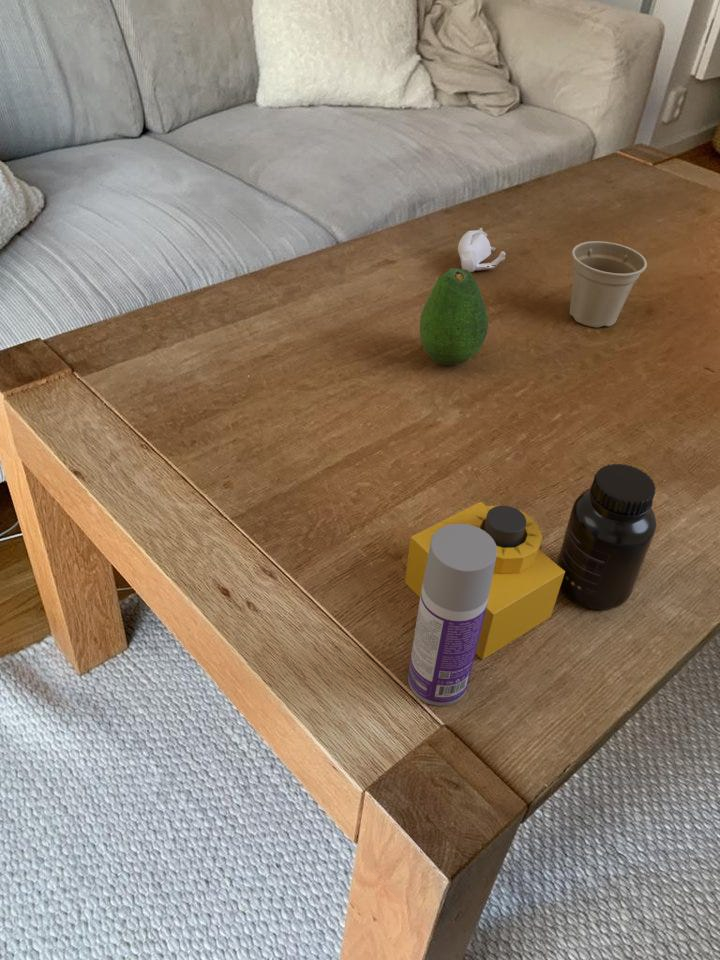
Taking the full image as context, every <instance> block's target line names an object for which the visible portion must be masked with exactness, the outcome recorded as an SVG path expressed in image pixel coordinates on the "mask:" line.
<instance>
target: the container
mask: <svg viewBox="0 0 720 960" xmlns="http://www.w3.org/2000/svg"><path fill="white" fill-rule="evenodd" d="M496 556H497V546H496V543H495V542H494V540H493V538H492V537H491V536H490V535H489V534H488V533H487V532H485V531H484V530H482V529H480V528H478V527H475V526H472V525H468V524H450V525H446V526H444V527H442V528H440V529H439V530H437V531H436V532H435V533H434V535H433V537H432V539H431V543H430V549H429V554H428V559H427V564H426V569H425V574H424V579H423V584H422V589H421V596H420V597H419V601H418V609H417V616H416V623H415V629H414V635H413V642H412V649H411V654H410V662H409V669H408V675H407V682H408V686H409V688H410V691H412V693H413V695H415V696H416V698H418V699H419V700H420V701H422V702H423V703H425V704H427V705H431V706H434V707H435V706H436V707H447V706H451V705H454V704H455V703H457V702H459V701H460V700H461V699H462V698H463V697H464V696H465V694H466V692H467V689H468V686H469V681H470V677H471V674H472V671H473V670H472V669H473V665H474V662H475V658H476V657H475V656H476V649H477V645H478V640H479V636H480V632H481V628H482V624H483V620H484V615H485V611H486V607H487V603H488V597H489V592H490V587H491V582H492V576H493V571H494V566H495V561H496Z"/></svg>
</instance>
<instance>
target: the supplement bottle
mask: <svg viewBox="0 0 720 960" xmlns="http://www.w3.org/2000/svg"><path fill="white" fill-rule="evenodd" d="M656 488H657V487H656V484H655V482H654V480H653V478H651V476H650V475H648V473H646V472H644V471H643V470H642V469H640V468H638V467H634V466H633V465H628V464H623V463H612V464H607V465H604V466H602V467H600V468H599V469H598V470H597V471H596V473H595V475H594V476H593V480H592V483H591V484H590V487H589V488H588V489H586V490H585V491H583V492H582V493H580V494H579V495H578V496H577V497H576V499H575V501H574V503H573V505H572V508H571V511H570V515H569V518H568V522H567V525H566V529H565V532H564V536H563V540H562V543H561V547H560V550H559V554H558V557H557V562H556V564H557V565H558V566H559V567H560V568H562V569H563V570H564V571H565V574H564V577H563V580H562V583H561V586H560V589H559V590H560V591H561V592H562V594H564V595H565V596H566V597H567V598H568V599H569V600H571V601H572V603H575V604H577V605H579V606H581V607H584V608H586V609H591V610H599V611H603V610H604V611H605V610H611V609H614V608H617V607H619V606H621V605H623V604H625V602H626V601H628V599H629V598H630V596H631V595H632V593H633V590H634V588H635V585H636V583H637V580H638V578H639V575H640V572H641V570H642V567H643V564H644V562H645V559H646V556H647V554H648V551H649V549H650V546H651V544H652V540H653V538H654V536H655V533H656V529H657V518H656V514H655V512H654V509H653V508H652V506H653V502H654V497H655V496H656Z"/></svg>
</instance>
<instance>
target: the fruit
mask: <svg viewBox="0 0 720 960" xmlns="http://www.w3.org/2000/svg"><path fill="white" fill-rule="evenodd" d="M420 314H421V315H420V321H419V322H420V323H419V332H420V333H419V334H420V340H421V344H422V348H423V349H424V351H425V353H426V355H427V356H428V357H429V358H430V359H431V360H432V361H434V362H436V363H438V364H440V365H444V366H456V365H461V364H463V363H465V362H468V360H470V359H472V358H473V357H475V355H476V354H477V353H478V352H479V351H480V349H481V348H482V347H483V344H484V343H485V340H486V337H487V334H488V328H489V316H488V310H487V307H486V304H485V301H484V299H483V295H482V293H481V290H480V287H479V285H478V283H477V281H476V279H475V276H474V275H472V272H469V271H468V270H465V269H462V268H452V267H451V268H450V269H448V270H447V271H445V272H444V273H442V274H441V275H440V276H438V277H437V279H436V281H435V284H434V286H433V287H432V289H431V291H430V294H429V296H428V298H427V299H426V301H425V303H424V305H423V308H422V311H421V313H420Z"/></svg>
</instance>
